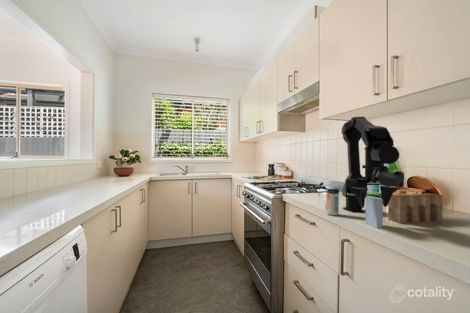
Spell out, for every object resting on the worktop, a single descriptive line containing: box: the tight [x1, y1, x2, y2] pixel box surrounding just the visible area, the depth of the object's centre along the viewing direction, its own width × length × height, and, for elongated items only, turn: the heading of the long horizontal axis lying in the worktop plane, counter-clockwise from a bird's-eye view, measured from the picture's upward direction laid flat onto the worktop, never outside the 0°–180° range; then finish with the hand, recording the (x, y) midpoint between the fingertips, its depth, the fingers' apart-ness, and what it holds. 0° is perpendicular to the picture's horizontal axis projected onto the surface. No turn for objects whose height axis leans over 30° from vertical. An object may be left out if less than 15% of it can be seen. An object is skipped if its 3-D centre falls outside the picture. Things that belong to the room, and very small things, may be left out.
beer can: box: [325, 184, 340, 217], centre depth 89 cm, size 5×5×12 cm
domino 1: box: [387, 193, 406, 225], centre depth 81 cm, size 5×2×10 cm, turn 10°
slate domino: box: [365, 195, 384, 229], centre depth 75 cm, size 5×2×10 cm, turn 10°
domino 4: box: [423, 192, 444, 223], centre depth 83 cm, size 5×2×10 cm, turn 10°
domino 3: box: [411, 192, 431, 223], centre depth 82 cm, size 5×2×10 cm, turn 10°
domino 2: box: [400, 193, 419, 224], centre depth 81 cm, size 5×2×10 cm, turn 10°
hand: (373, 206), depth 76 cm, fingers open, 9 cm apart
